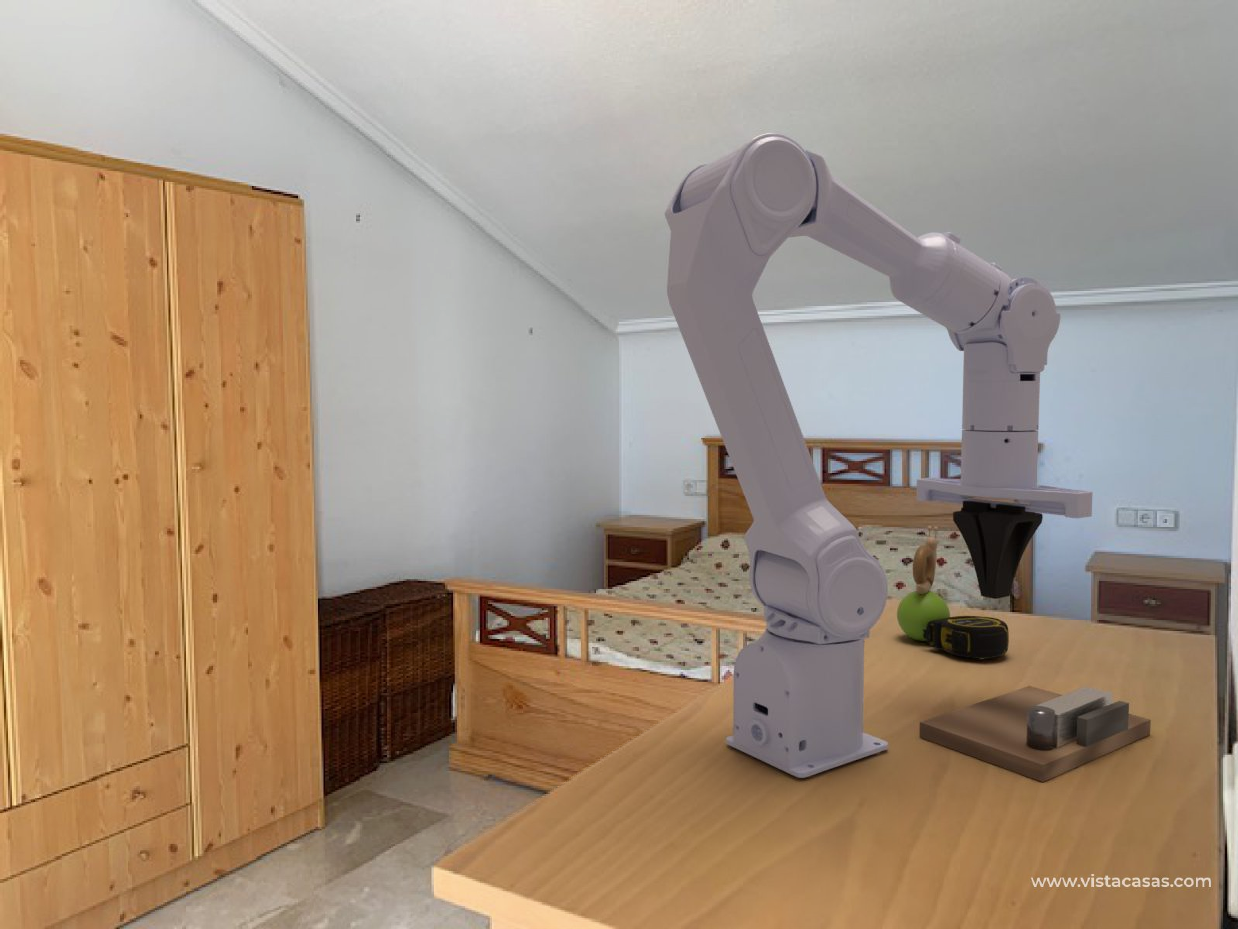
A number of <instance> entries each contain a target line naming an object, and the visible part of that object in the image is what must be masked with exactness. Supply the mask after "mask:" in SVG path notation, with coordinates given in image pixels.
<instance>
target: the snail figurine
mask: <svg viewBox="0 0 1238 929" xmlns="http://www.w3.org/2000/svg"><path fill="white" fill-rule="evenodd" d="M926 530H927V531H928V533H929V534H928V535H929V536H928V537H927V539H925V544H922V545H920V546H919V547H918V548H917V549H916V551H915V553H914V556H913V560H912V561H913V562H912V577H913V581H914V582H915V584H916V585H915V591H911V592H909V593H907V594H906V595H905V596H904V597H903V598H902V599H901V601H900V602H899V604H898V606H897V609H896V618H897V622H898V625H899V627H900V629H901V631H903V633H904V634H906V636H908V637H910V639H913V640H916V641H920V642H927V639H925V638H924V637H923V634H924V632H923V629H926V627H927V624H928V622H930V621H932V620H936V619H943V618H949V617H951V613H950V609H949V606H948V604H947V603H946V601H945V600H944V599H943V597H941V596H940V595H939V594H937V593H936V592H933V591H930V590H931V589H932V586H933V585H934V581H935V574H936V567H937V558H938V557H937V550H938V540H937V532H938V531H939V527H938V526H934V527H933V526H931V525H928V526H927V528H926ZM932 530H933V531H934V532H935V536H931V532H932Z"/></svg>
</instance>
